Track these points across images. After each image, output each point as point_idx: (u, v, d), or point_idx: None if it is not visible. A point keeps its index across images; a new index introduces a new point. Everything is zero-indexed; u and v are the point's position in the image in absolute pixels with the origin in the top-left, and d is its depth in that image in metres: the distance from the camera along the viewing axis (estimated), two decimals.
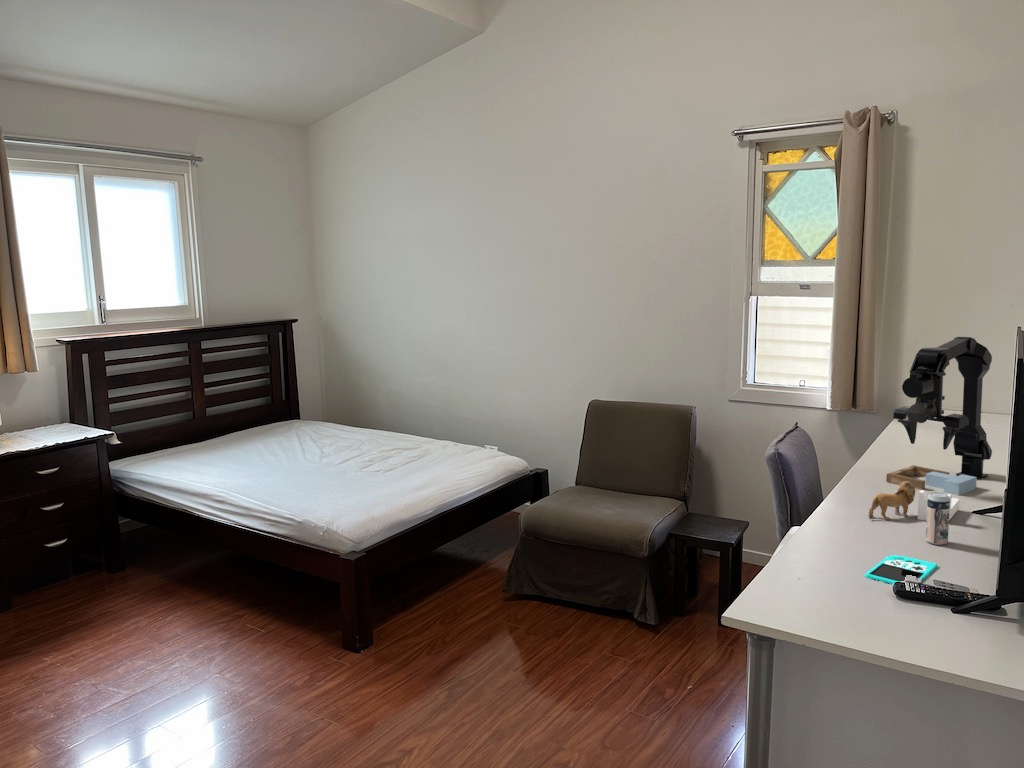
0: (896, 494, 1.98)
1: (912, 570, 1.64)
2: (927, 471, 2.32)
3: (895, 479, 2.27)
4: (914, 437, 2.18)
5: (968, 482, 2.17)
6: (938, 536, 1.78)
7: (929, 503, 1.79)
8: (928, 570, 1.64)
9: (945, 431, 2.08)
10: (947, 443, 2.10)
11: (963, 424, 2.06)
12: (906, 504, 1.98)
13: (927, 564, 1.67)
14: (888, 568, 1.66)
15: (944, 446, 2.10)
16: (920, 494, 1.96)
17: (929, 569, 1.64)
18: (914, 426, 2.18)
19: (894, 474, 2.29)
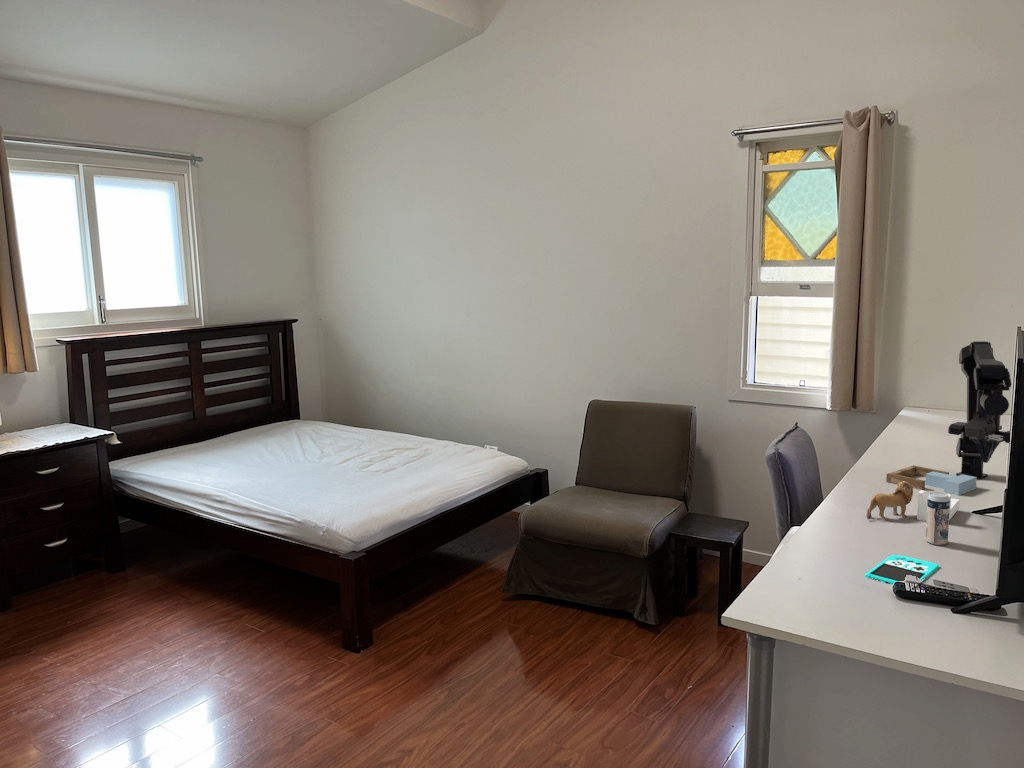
0: (894, 494, 1.98)
1: (913, 570, 1.64)
2: (927, 471, 2.32)
3: (895, 479, 2.27)
4: None
5: (968, 482, 2.17)
6: (938, 536, 1.78)
7: (929, 503, 1.79)
8: (929, 570, 1.64)
9: (987, 444, 2.09)
10: (989, 456, 2.11)
11: None
12: (904, 504, 1.98)
13: (929, 565, 1.67)
14: (889, 568, 1.66)
15: (986, 459, 2.11)
16: (920, 494, 1.96)
17: (930, 569, 1.64)
18: (986, 444, 2.12)
19: (894, 474, 2.29)
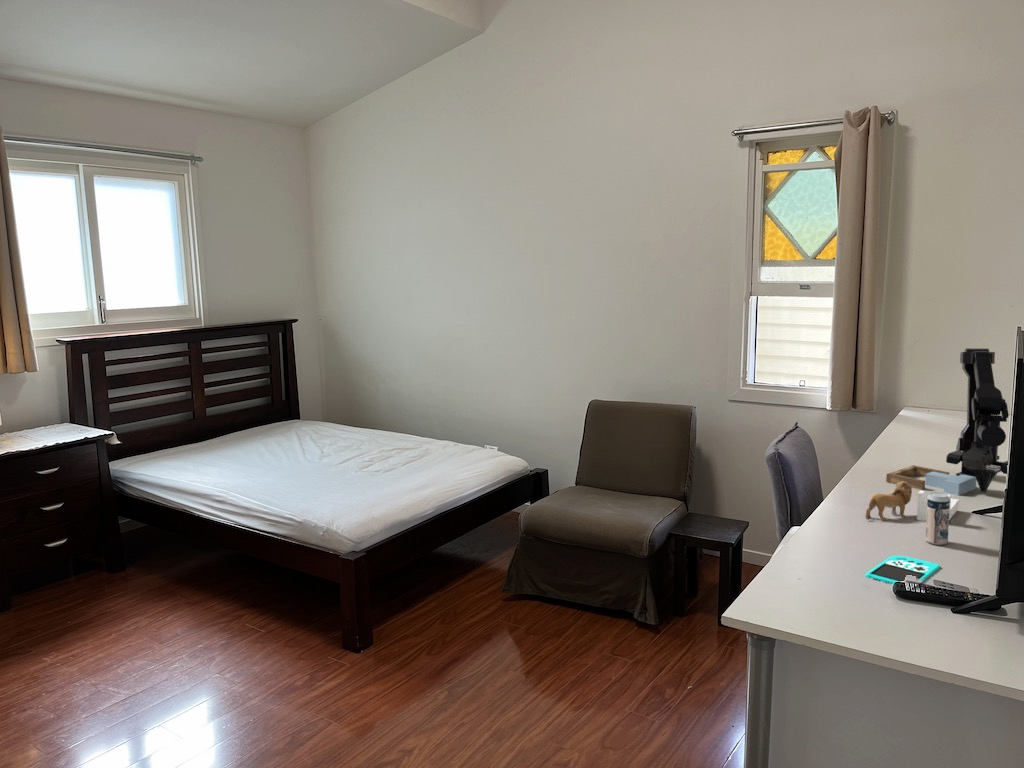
0: (893, 494, 1.98)
1: (914, 570, 1.64)
2: (927, 471, 2.32)
3: (895, 479, 2.27)
4: None
5: (968, 482, 2.17)
6: (938, 536, 1.78)
7: (929, 503, 1.79)
8: (930, 571, 1.64)
9: (985, 474, 2.11)
10: (986, 486, 2.12)
11: None
12: (903, 504, 1.98)
13: (930, 565, 1.66)
14: (889, 568, 1.66)
15: (983, 489, 2.13)
16: (919, 495, 1.95)
17: (931, 570, 1.64)
18: (983, 473, 2.14)
19: (894, 474, 2.29)
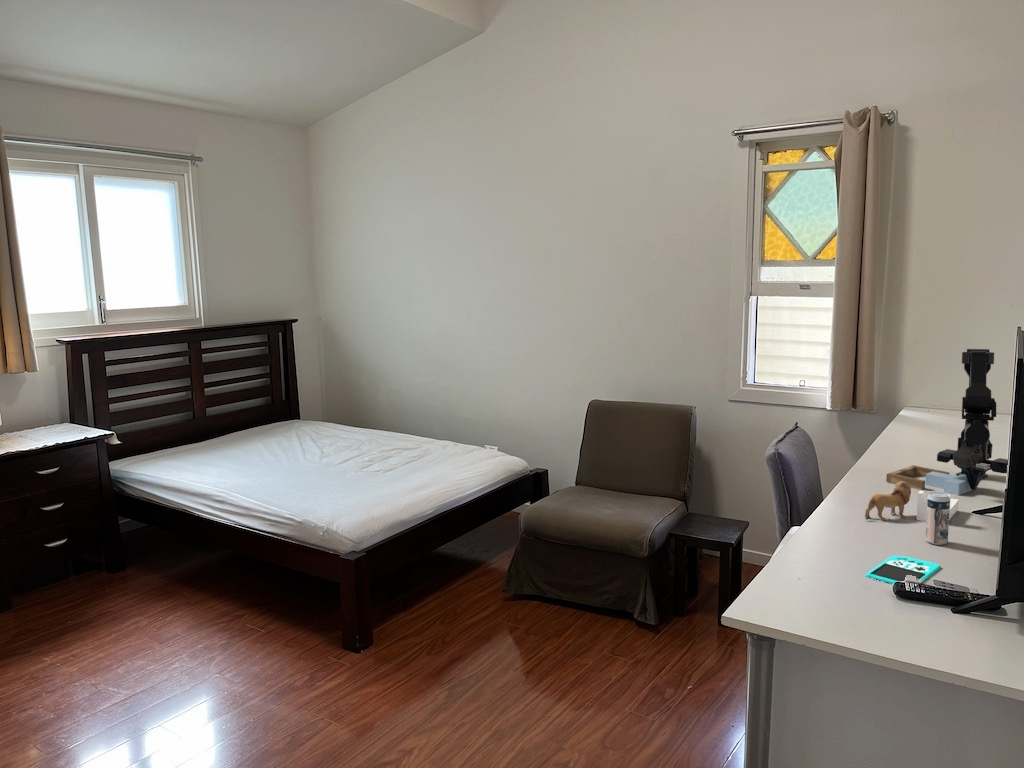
0: (892, 494, 1.98)
1: (914, 570, 1.64)
2: (927, 471, 2.32)
3: (895, 479, 2.27)
4: None
5: None
6: (938, 536, 1.78)
7: (929, 503, 1.79)
8: (930, 571, 1.64)
9: (974, 472, 2.13)
10: (976, 484, 2.15)
11: None
12: (902, 504, 1.98)
13: (930, 565, 1.66)
14: (890, 568, 1.66)
15: (973, 487, 2.15)
16: (919, 495, 1.95)
17: (931, 570, 1.64)
18: None
19: (894, 474, 2.29)
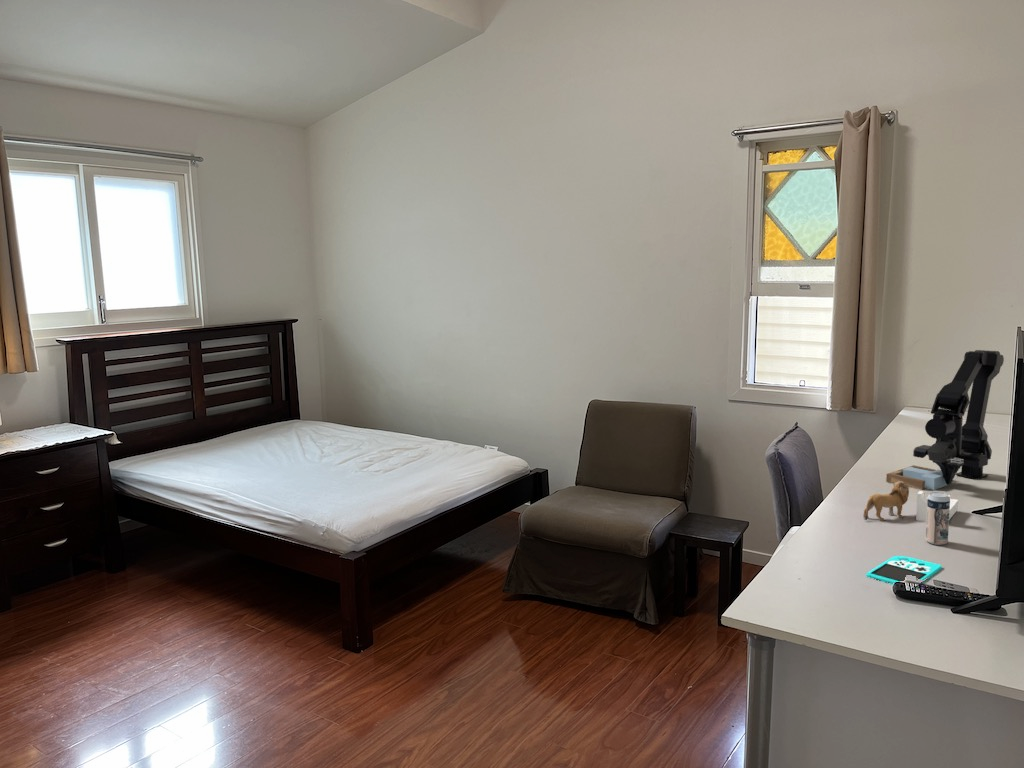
0: (890, 494, 1.98)
1: (915, 571, 1.64)
2: None
3: (895, 479, 2.27)
4: None
5: None
6: (938, 536, 1.78)
7: (929, 503, 1.79)
8: (931, 571, 1.63)
9: (949, 467, 2.19)
10: (951, 478, 2.20)
11: (983, 464, 2.12)
12: (900, 504, 1.98)
13: (932, 566, 1.66)
14: (891, 568, 1.66)
15: (948, 481, 2.21)
16: (919, 495, 1.95)
17: (933, 570, 1.64)
18: None
19: (894, 474, 2.29)
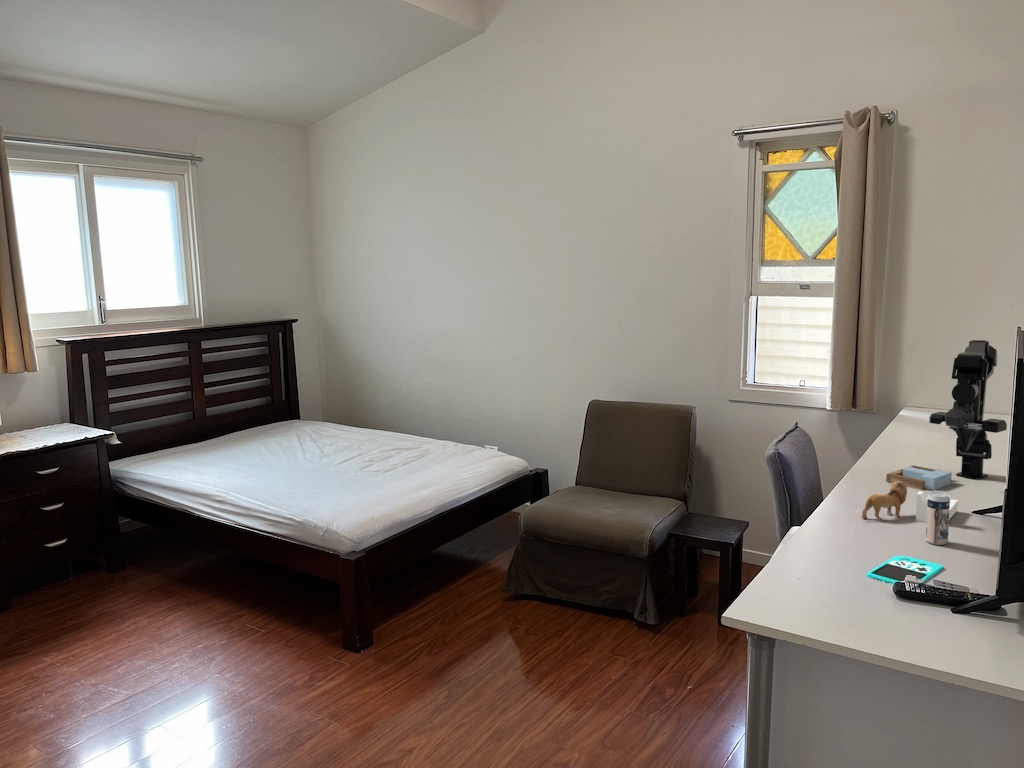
0: (889, 495, 1.98)
1: (916, 571, 1.64)
2: None
3: (895, 479, 2.27)
4: None
5: (943, 477, 2.23)
6: (938, 536, 1.78)
7: (929, 503, 1.79)
8: (932, 571, 1.63)
9: (967, 433, 2.14)
10: (968, 445, 2.15)
11: (1001, 429, 2.07)
12: (898, 504, 1.98)
13: (933, 566, 1.66)
14: (891, 568, 1.66)
15: (965, 448, 2.16)
16: (918, 495, 1.95)
17: (933, 570, 1.64)
18: None
19: (894, 474, 2.29)
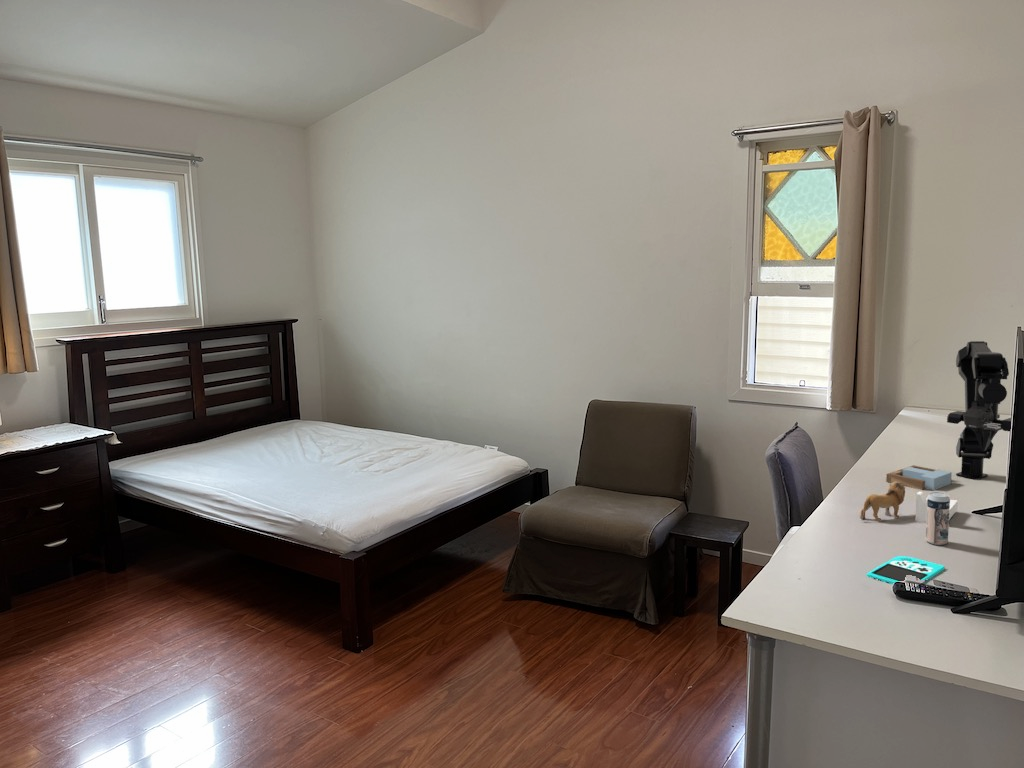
0: (887, 495, 1.98)
1: (916, 571, 1.64)
2: None
3: (895, 479, 2.27)
4: None
5: (943, 477, 2.23)
6: (938, 536, 1.78)
7: (929, 503, 1.79)
8: (933, 572, 1.63)
9: (985, 433, 2.13)
10: (987, 444, 2.15)
11: None
12: (897, 504, 1.98)
13: (934, 566, 1.66)
14: (892, 568, 1.66)
15: (984, 447, 2.15)
16: (918, 496, 1.95)
17: (935, 571, 1.63)
18: (984, 432, 2.16)
19: (894, 474, 2.29)
